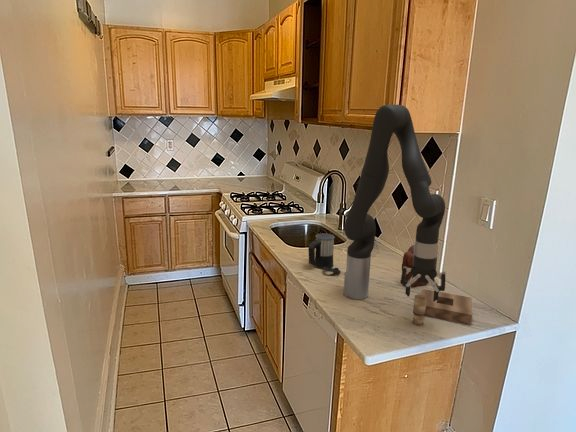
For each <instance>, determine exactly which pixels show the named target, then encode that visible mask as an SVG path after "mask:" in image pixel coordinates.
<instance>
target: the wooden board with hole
mask: <svg viewBox="0 0 576 432" xmlns="http://www.w3.org/2000/svg"><path fill="white" fill-rule="evenodd" d="M420 294H421V295H424V296H426V297H427V300H426V309H425V315H424V317H429V318H434V319H439V320H443V321H449V322H452V323H459V324H464V325H467V326H471V325H472V318H473V304H472V303H473V302H472V301H473V300H472V299H473V298H472V296H471V297H470V296H463V295H460V294H453V293H448V292H444V291H439V294H438V300H436V301H433V298H434V290H432V289H427V288H421V290H420Z"/></svg>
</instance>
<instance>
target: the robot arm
mask: <svg viewBox="0 0 576 432" xmlns="http://www.w3.org/2000/svg"><path fill="white" fill-rule="evenodd" d="M393 134H394V135H395V136H396V138H397V140H398V143H399V145H400V150H401V166H402V168H401V169H402V171H403V175H404V177H405V179H406V182H407V184H408V185H409V189H410V196H411V202H412V207H413V210H414V211H415V213H416V215H418V216H419V217H420V218H422V220H421V221H420V222H419V223H418V224H417V226H416V230H415V242H414V244H415V245H414V244H413V245H414V255H413V267H412V268H407V266H404V267H403V270H402V269H401V278H400V285H402V284H404V285H405V286H404V285H403V286H404V287H405V295H406V297H409V298H410V295H411V288H412V287H411V284H412V283H414V282H415V281H418V282H423V283H427V284H429V285H430V286H431V287H432V288H433V289H434V290H433V291H434V298H433V301H436V300H438V294H439V292H445V290H446V278H447V277H446V274H447V273H446V271H442V272H438V271H437V261H438V254H439V235H440V234H439V233H440V228H441V225H442V222H443V219H444V215H445V213H446V212H445V211H446V202H445V199H444V198H443V197H442V196H441V195H440V194H437V193H432V194H431V191H430V188H429V187H430V186H431V185H432V178H431V176H430V174H429V171H428V169H427V166H426V164H425V162H424V160H423V156H422V154H421V151H420V147H419V143H418V139H417V137H416V133H415V128H414V123H413V120H412V116H411V113H410V111H409V109H408V108H407V107H406V106H405V105H402V104H384V105H382V106H380V107H379V108H378V109H377V110H376V112H375V115H374V119H373V122H372V128H371V134H370V140H369V144H368V148H367V152H366V156H365V160H364V164H363V166H362V169H361V173H360V177H359V181H358V185H357V188H356V191H355V195H354V198H353V201H352V204H351V207H350V208H349V212H348V214H347V217H346V219H345V222H344V225H343V226H344V229H343V231H344V234H345V236H346V238H347V239H349V240H350V241H352V242H351V243H350V245H348V247H347V249H346V250H347V251H346V253H347V254H346V269H345V272H344V280H343V282H344V283H343V296H346V297H348V298H349V299H352V300H364V299H367V298H368V297H369V288H370V287H369V286H370V275H371V274H370V273H371V259H372V257H371V256H372V252H373V250H374V247H375V240H376V231H377V226H376V221H375V219H374V217H373V216H372V215H370V214H368V213H369V210H370V209H371V207H372V205H374V203H375V202H376V201H377V199H378V198H379V197H380V195H381V194H382V192H383V191H384V188H385V186H386V183H387V179H388V178H389V177H388V176H389V172H390V163H389V157H388V149H389V145H390V141H391V138H392V136H393ZM409 272H411V274H412V275H413V276H412V277H411V278H410V279H409V280H408V281H407V280H405V278H406V274H408V273H409ZM437 277H438V279H439V280H441V281H440V285H439V284H438V283H437V281H436V280H435V278H437Z"/></svg>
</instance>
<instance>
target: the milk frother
mask: <svg viewBox="0 0 576 432" xmlns="http://www.w3.org/2000/svg"><path fill="white" fill-rule="evenodd" d="M335 238H336V237H335V235H334V234H330V233H317V234H316V235H315V240H313V241H311V242H310V243H309V245H308V248H307V249H308V264H310V265H312V266H313V265H314V267H315V268H318V269H323V270H326V271H329V272H332V273H333V274H336V275H337V274H338V273H341V270H340V269H339V268H338V267H334V245H335ZM333 267H334V268H333Z"/></svg>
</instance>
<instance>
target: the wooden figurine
mask: <svg viewBox="0 0 576 432" xmlns="http://www.w3.org/2000/svg"><path fill="white" fill-rule="evenodd" d="M414 245H415V243H414V244H412V245H411V246H409V248H408V249H407V251H406V252H404V254H403V256H402V264H401V271H402V270H403V267H404V266H407V268H412V267H413V255H414ZM412 276H413V275H412V274H411V272H409V273H408V274H406V278H405V280H407V281H408V280H409V279H410V278H411V277H412ZM401 285H403V287H406V286H405V285H404V284H401ZM426 285H428V283H423V282H418V281H415V282H414V283H412V284H411V288H415V287H420V286H426Z"/></svg>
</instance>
